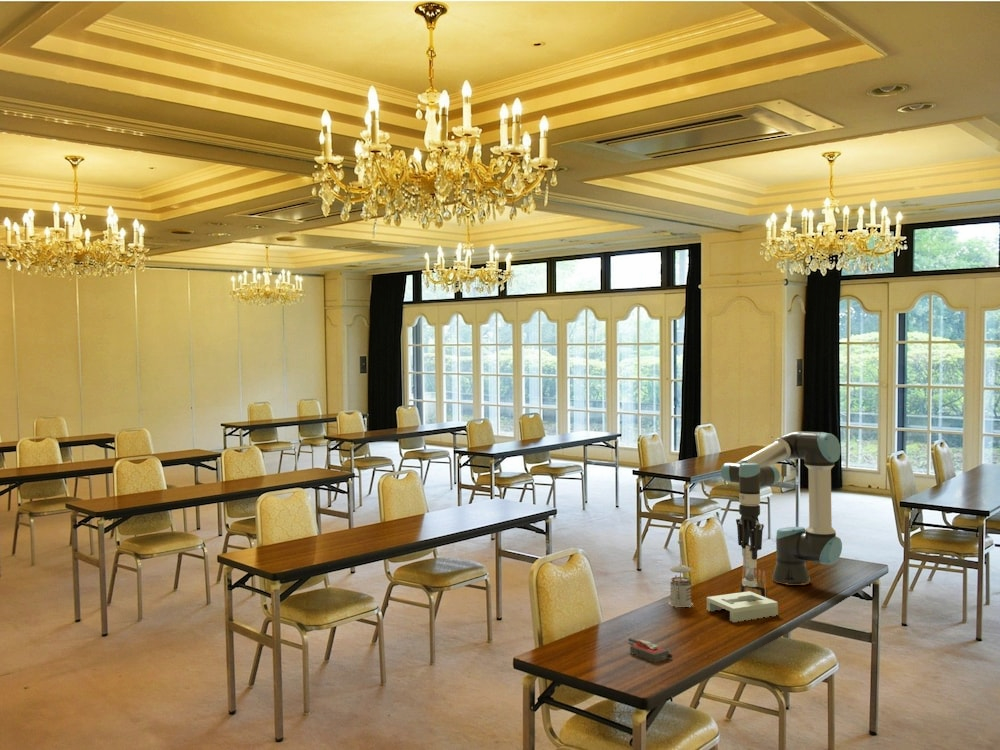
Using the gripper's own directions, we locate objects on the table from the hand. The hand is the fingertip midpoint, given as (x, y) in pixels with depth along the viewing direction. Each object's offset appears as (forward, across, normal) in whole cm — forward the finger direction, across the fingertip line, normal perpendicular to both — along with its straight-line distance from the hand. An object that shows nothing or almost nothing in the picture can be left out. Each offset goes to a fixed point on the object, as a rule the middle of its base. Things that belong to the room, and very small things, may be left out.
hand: (749, 566), depth 307 cm
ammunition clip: (+17, -14, +13) cm, 26 cm away
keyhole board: (+17, 0, -4) cm, 17 cm away
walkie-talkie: (+18, +21, -59) cm, 66 cm away
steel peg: (+7, 0, 0) cm, 7 cm away
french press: (+17, -18, -19) cm, 31 cm away
